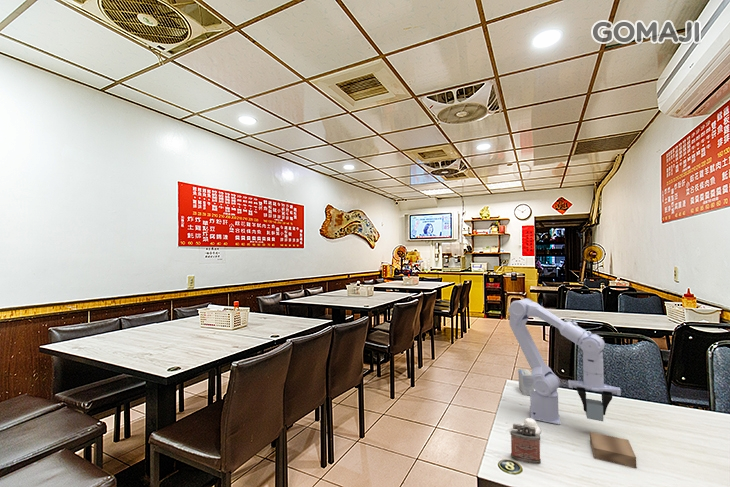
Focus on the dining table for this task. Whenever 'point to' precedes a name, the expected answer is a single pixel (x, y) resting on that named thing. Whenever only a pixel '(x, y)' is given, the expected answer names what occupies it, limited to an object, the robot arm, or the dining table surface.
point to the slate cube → (594, 409)
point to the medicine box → (525, 381)
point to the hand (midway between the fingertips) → (594, 412)
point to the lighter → (525, 444)
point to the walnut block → (612, 449)
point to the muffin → (532, 425)
